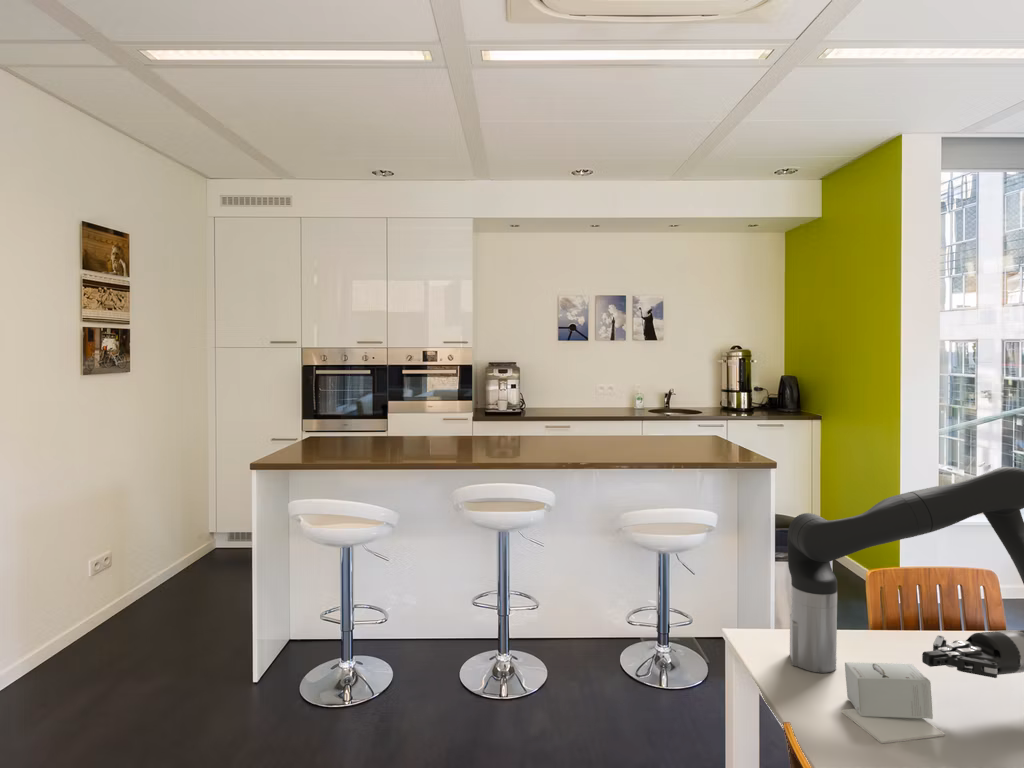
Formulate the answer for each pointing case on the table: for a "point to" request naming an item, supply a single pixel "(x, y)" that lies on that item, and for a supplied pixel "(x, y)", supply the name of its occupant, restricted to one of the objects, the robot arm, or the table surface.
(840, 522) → the robot arm
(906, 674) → the supplement box
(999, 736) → the table surface
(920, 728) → the mat
